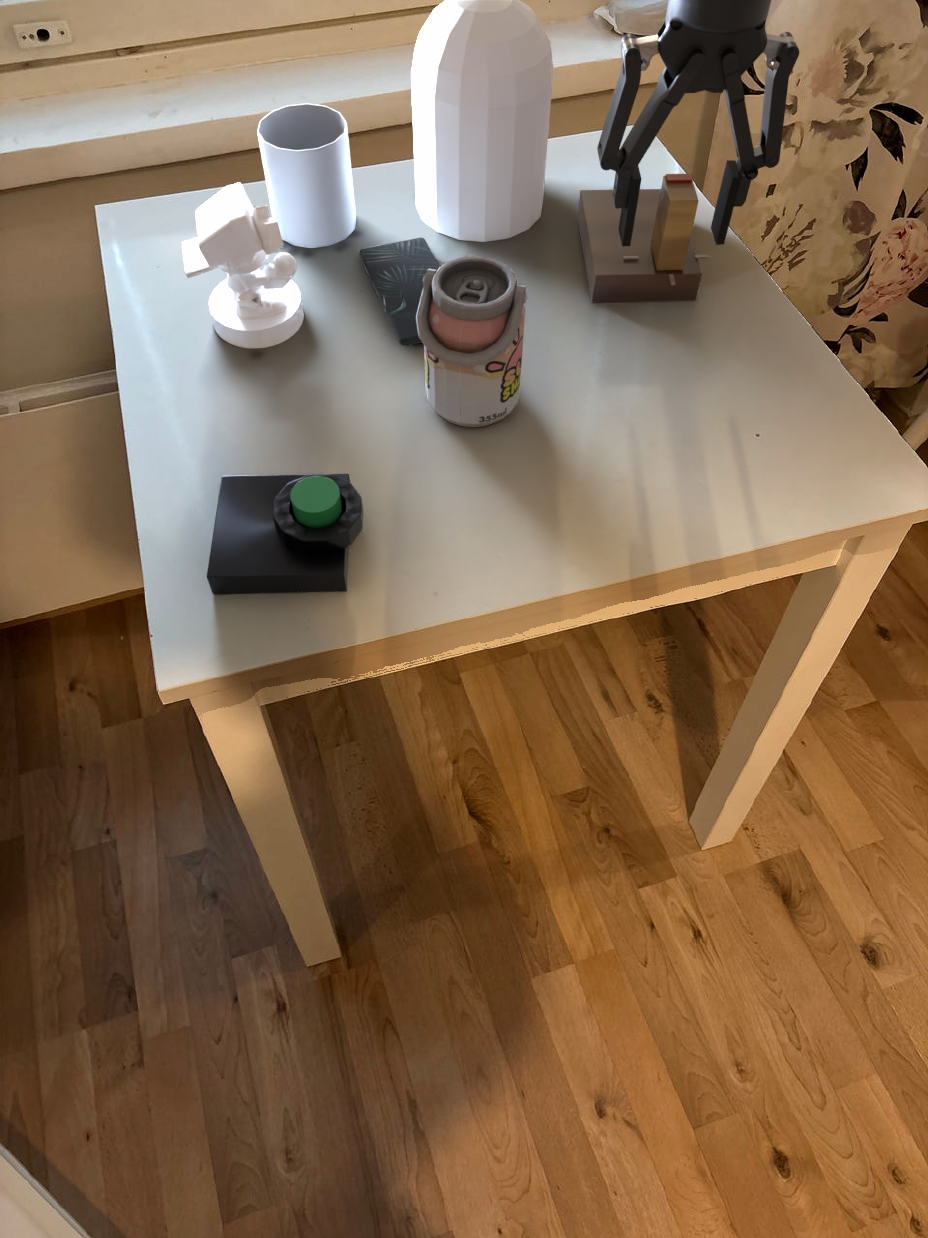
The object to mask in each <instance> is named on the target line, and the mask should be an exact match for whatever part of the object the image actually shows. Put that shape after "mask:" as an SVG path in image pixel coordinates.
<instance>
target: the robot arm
mask: <svg viewBox="0 0 928 1238" xmlns="http://www.w3.org/2000/svg"><path fill="white" fill-rule="evenodd" d="M771 4H772V0H668V3H667V7H666V13H665V18H664V20H663V22H662V24H661V26H660V27H659V28H658V30H657V32H656V34H654V35H648V36H643V37H638V38H637V36H636V35H635V34H633V33H626V34H624V36H623V37H622V38H621V42H620V45H621V46H620V47H621V48H620V50H621V67H620V71H619V74H618V77H617V80H616V83H615V87H614V90H613V93H612V97H611V101H610V104H609V106H608V110H607V114H606V118H605V120H604V124H603V128H602V130H601V134H600V137H599V140H598V143H597V147H596V148H597V149H596V151H597V157H598V161H599V165H600V166H599V167H600V168H601V169H602V170H603V171H610V170H611V171H614V172H615V174H614V179H613V180H614V181H613V187H612V188H613V189H612V190H613V199H614V204H615V207H616V209H618V208H622V209H621V215H620V222H619V228H618V229H619V234H620V239H621V244H622V246H630V245H631V239H632V233H633V227H634V221H635V215H636V209H637V203H638V197H639V191H640V189H641V184H642V174H641V171H640V166H639V164H641V161H642V160H643V158H644V157H645V155H646V153H647V152H648V150H649V148H650V147H651V145H652V144H653V142H654V140H655V139H656V137H657V135H658V134H659V132H660V130H661V128H662V127H663V126H664V124H665V122H666V120H667V119H668V117H669V116H670V114H671V112H672V111H673V109H674V108H675V107H677V106H678V105H679V104H680V102H681V100H682V99H683V97H684V96H685V94H696V93H699V92H709V93H712V94H723V93H724V97H725V102H726V103H725V104H726V108H727V113H728V118H729V124H730V128H731V133H732V138H733V143H734V148H735V154H736V158H737V159H736V160H735V159H733V160H731V159H730V160H728V159H727V160H726V162H725V167H724V170H723V176H722V177H721V178H722V179H721V183H720V186H719V191H718V195H717V200H716V202H715V203H716V204H715V207H714V211H713V216H712V220H711V225H710V231H711V233H712V237H713V239H714V244H715V246H724V245H725V242H726V239H727V234H728V231H729V228H730V223H731V219H732V216H733V211H734V207H738V208H739V207H743V206H744V204H745V203H746V201H747V197H748V193H749V190H750V187H751V183H752V181H753V180H755V179H757V177H758V175H759V170H760V169H762V168H765V167H766V168H768V169H772V168H775V167H776V166H778V164H779V163H780V159H781V150H782V140H783V132H784V125H785V124H784V123H785V114H786V107H787V98H788V97H787V96H788V88H789V81H790V77H791V74H792V73H793V72H792V71H793V69H794V67H795V65H796V63H797V60H798V59H799V57H800V48H799V46H798V45H797V42H796V40H795V38H794V36H793V34H792V33H791V32H790V31H784V32H781V33H780V34H779V35H776V34H775V35H774V34H770V33H767V30H766V22H767V19H768V16H769V12H770V7H771ZM762 54H764V55H763V61H764V64H765V65H766V71H765V81H764V91H763V102H762V103H763V104H762V113H761V121H760V122H761V123H760V135H759V144H758V145H756V146H754V143H753V139H752V132H751V127H750V123H749V116H748V111H747V106H746V105H747V104H746V100H745V99H746V97H745V96H746V95H745V91H744V85H743V79H742V76H743V75H744V73H745V72H746V71H747V70H748V69H749V68H750V67H751V66H752V65H753V64H754V62H755V61H756V60H757V59H759V57H761V55H762ZM656 55H659V56H660V58H661V60H662V63H663V64H664V68H663V70H662V72H661V73H660V75H659V77H658V79H657V84H656V86H655V88H654V90H653V91H652V94H651V95H650V97H649V99H648V100H647V102H646V104H645V105H644V107H643V109H642V111H641V112H640V114H639V115H638V117H637V119H636V120H635V122H634V124H633V126H632V128H631V129H630V131H629V132H628V134H627V136H626V138H625V140H624V141H623V139H624V136H625V132H626V129H627V126H628V122H629V119H630V117H631V113H632V110H633V107H634V103H635V101H636V98H637V95H638V91H639V89H640V88H639V87H640V84H641V78H642V72H645V71H647V70H648V68H649V67H650V64H651V60H652V58H653V57H654V56H656ZM622 142H623V143H622Z"/></svg>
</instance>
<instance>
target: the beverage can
mask: <svg viewBox="0 0 928 1238" xmlns="http://www.w3.org/2000/svg"><path fill="white" fill-rule="evenodd" d="M518 283H519V282H518V279H517V276H516V273H515V272H514V271H513V270H512V269H511V268H510V267H509V266H508V265H506V264H505V263H503V262H501V261H500V260H497V259H494V258H490V257H487V256H477V255H476V256H475V255H471V256H463V257H462V256H461V257H458V258H455V259H453V260H452V259H451V260H449V261H447V262H446V263H444V264H443V265H441V266H439V269H438V270H434V269H428V270H427V272H426V275H425V276H424V277H423V285H424V287H423V290H422V294H421V298H420V302H419V306H418V311H417V315H416V323H417V330H418V336H419V338H420V340H421V341H422V342H421V343H422V344H423V354H424V380H425V381H424V382H425V383H424V384H425V395H426V398H427V402H428V404H429V405H430V407H431V408H432V410H433V411H434V412H435V414H437V415H438V416H440V417H441V418H442V419H444V420H446V421H447V422H449V423H451V424H454V425H457V426H460V427H464V428H465V427H466V428H480V427H487V426H489V425H493V424H495V423H497V422H499V421H502V420H503V419H504V418H505V417H507V416H508V415H509V414H511V413H512V411H514V409H515V407H516V406H517V403H518V402H519V399H520V393H521V392H520V391H521V381H522V380H521V379H522V378H521V377H522V363H523V352H524V351H523V348H524V334H525V322H526V321H525V320H526V319H525V318H526V307H525V303H526V302H527V301H528V294H527V285H523V284H518Z"/></svg>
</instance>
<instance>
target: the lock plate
mask: <svg viewBox="0 0 928 1238" xmlns="http://www.w3.org/2000/svg"><path fill="white" fill-rule="evenodd" d="M660 192H661V188H648V189H647V188H640V191H639V197H638V203H637V209H636V215H635V221H634V227H633V233H632V239H631V245H630V246H622V244H621V239H620V234H619V229H618V228H619V222H620V215H621V209H622V208H618V209H616V207H615V204H614V199H613V189H580V190H579V196H578V197H579V198H578V207H577V213H576V214H577V216H576V218H577V223H578V224H577V225H578V228H579V229H578V231H579V235H580V241H581V248H582V253H583V259H584V265H585V270H586V277H587V282H588V288H589V295H590V299H591V303H639V302H640V303H641V302H642V303H643V302H644V303H645V302H646V303H647V302H695V301H697V298H698V293H699V290H700V286H701V282H702V277H703V271H702V268H701V263H700V261H699V259H700V260H701V259H711V255H710V254H697V250H696V246H695V243H694V240H693V235H692V234H691V237H690V241H689V246H688V250H687V255H686V259H685V264H684V268H683V270H656V265H655V261H654V257H653V253H652V249H651V240H652V234H653V229H654V224H655V218H656V213H657V208H658V202H659V197H660Z"/></svg>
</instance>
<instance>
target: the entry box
mask: <svg viewBox="0 0 928 1238" xmlns="http://www.w3.org/2000/svg"><path fill="white" fill-rule="evenodd" d="M312 476H322V477H326V478H329V479H331V480H333V481H334V482H335V483H336V484H337V485H338V487H339V490H340V496H341V503H342V512H341V515H340V517H339V518H338V519H337V520H336V521H335V522H334V523H332V524H331V525H328V526H326V527H322V528H310V527H307V526H304V525H302V524H301V523H299V522H298V521H297V519H296V518H295V516H294V512H293V507H292V502H291V491H292V489H293V487H294V486H295V485H296V484H297V483H298V482H299V481H301V480H303V479H305V478H308V477H312ZM217 499H218V500H217V506H216V507H217V508H216V513H215V518H214V527H213V531H212V540H211V544H210V551H209V559H208V564H207V572H206V579H207V582H208V585H209V588H210V590H211V593H212V595H249V594H252V595H253V594H289V593H290V594H292V593H294V594H295V593H296V594H297V593H338V592H339V593H340V592H347V591H348V580H349V579H348V576H349V556H350V547H351V545H352V544H353V543H354V542H355V541H356V539H357V538H358V536H360V535H361V533H362V532H363V529H364V506H363V497H362V496H361V495H360V493H359V492H358V490H357V489H356V488H355V486H354V485H353V483H352V482H351V477H350V473H348V472H347V473H307V474H306V473H304V474H302V473H301V474H299V473H298V474H256V475H255V474H252V475H249V474H248V475H247V474H246V475H221V480H220V486H219V491H218V498H217Z"/></svg>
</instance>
